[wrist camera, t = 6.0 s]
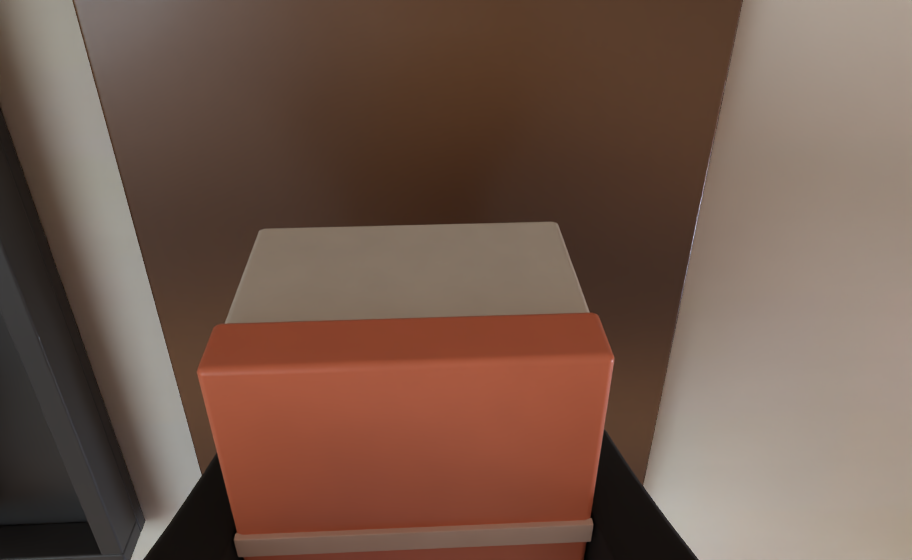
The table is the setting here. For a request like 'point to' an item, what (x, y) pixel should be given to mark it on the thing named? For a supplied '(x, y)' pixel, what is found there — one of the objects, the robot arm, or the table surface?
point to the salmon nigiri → (409, 395)
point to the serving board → (417, 146)
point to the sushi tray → (51, 407)
